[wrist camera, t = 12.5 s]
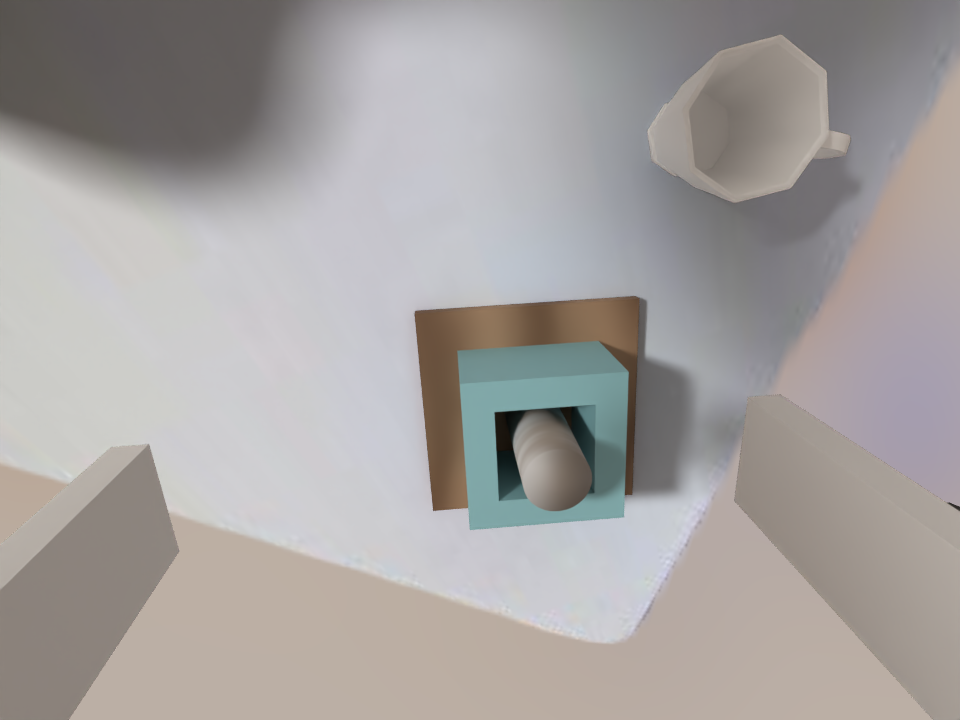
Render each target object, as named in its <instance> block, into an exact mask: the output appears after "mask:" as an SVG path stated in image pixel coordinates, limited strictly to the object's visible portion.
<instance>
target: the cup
mask: <svg viewBox="0 0 960 720" xmlns="http://www.w3.org/2000/svg"><path fill="white" fill-rule="evenodd" d="M647 134H648V141H649V148H650V155H651V161H652V162H654V163H655V164H657V165H658V166H660V167H661V168H662V169H664V170H665V171H667V172H668V173H670V174H671V175H672V176H679V177H680V178H682V179H683V180H685V181H686V182H688V183H689V184H691V185H692V186H693V187H695V188H698V189H700V190H703V191H706V192H708V193H711V194H714V195H716V196H718V197H720V198H723V199H725V200H728V201H730V202H733V203H737V202H741V201H745V200H748V199H752V198H756V197H760V196H764V195H768V194H771V193H775V192H779V191H783V190H787V189H791V188H792V186H793V185H794V183H795V182H796V181H797V179H798V178H799V177H800V175H801V174H802V172H803V171H804V170H805V168H806V167H807V165H808V164H809V163H810V161H811V160H812V159H827V158H836V157H841V156H845V155H846V153H847V150H848V147H849V144H850V141H851V138H850V135H847V134H844V133H840V132H835V131H831V130H829V117H828V92H827V71H826V70H825V69H824V68H822V67H821V66H820V65H819V64H817V63H816V62H815V61H814V60H812V59H811V58H810V57H809V56H807V55H806V54H805V53H804V52H802V51H801V50H800V49H799V48H797V47H796V46H795V45H794V44H793V43H791V42H790V41H789V40H788V39H786V38H785V37H784V36H783V35H777V36H773V37H770V38H766V39H762V40H758V41H755V42H751V43H747V44H743V45H740V46H736V47H732V48H728V49H724V50H721V51H719V52H718V53H717V54H716V55H715V56H713V57H712V58H711V59H710V60H709V61H708V62H707V63H706V64H705V65H704V66H703V67H702V68H700V69H699V70H698V71H697V72H696V73H695V74H694V75H693V76H691V77H690V78H689V79H688V80H687V81H686V82H684V83H683V84H682V86H681V87H680V88H679V90H678V91H677V93H676V94H675V95H674V97H673V98H672V100H671V101H670V102H669V103H665V104H664V105H663V107H662V108H661V110H660V111H659V113H658V115H657V116H656V118H655V119H654V121H653V122H652V124H651V126H650V127H649V129H648V130H647Z"/></svg>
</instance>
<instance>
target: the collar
mask: <svg viewBox="0 0 960 720" xmlns="http://www.w3.org/2000/svg"><path fill="white" fill-rule="evenodd" d="M457 353H458V367H459V381H460V396H461V410H462V424H463V439H464V453H465V467H466V481H467V496H468V510H469V524H470V530H476V529H488V528H500V527H512V526H524V525H536V524H548V523H561V522H573V521H585V520H597V519H609V518H621V517H624V499H625V469H626V438H627V407H628V377H629V372H628V371H627V370H626V369H625V367H624V366H623V365H622V364H621V363H620V362H619V361H618V360H617V359H616V358H615V357H614V356H613V355H612V354H611V353H610V352H609V351H608V350H607V349H606V348H605V347H604V346H603V345H602V344H601V343H600V342H599V341H590V342H576V343H561V344H547V345H532V346H518V347H503V348H489V349H474V350H460V351H457ZM570 406H571V431H572V433H573V435H574V437H575V439H576V441H577V443H578V445H579V447H580V449H581V451H582V453H583V455H584V457H585V459H586V461H587V463H588V465H589V466H590V469H591V473H592V484H591V487H590V490H589V492H588V494H587V495H586V497H585V498H584V499H583V500H582V501H581V502H580V503H579V504H577V505H576V506H574V507H572V508H570V509H567V510H563V511H547V510H543V509H541V508H538V507H537V506H535V505H534V504H533V503H531V502H530V500H529V499H528V498H527V496H526V494H525V492H524V488H523V484H522V480H521V477H520V473H519V469H518V465H517V461H516V457H515V453H514V450H507V451H496V434H495V414H494V412H502V411H516V410H529V409H543V408H556V407H570Z"/></svg>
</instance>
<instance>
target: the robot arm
mask: <svg viewBox="0 0 960 720" xmlns="http://www.w3.org/2000/svg"><path fill="white" fill-rule="evenodd" d="M734 501H735V502H736V503H737V504H738V505H739V507H740V508H741V509H742V510H743V511H744V512H745V513H746V514H747V515H748V517H749V518H750V519H751V520H752V521H753V522H754V523H755V524H756V525H757V526H758V527H759V529H760V530H761V531H762V532H763V533H764V534H765V535H766V536H767V537H768V539H769V540H770V541H771V542H772V543H773V544H774V545H775V546H776V547H777V548H778V549H779V551H780V552H781V553H782V554H783V555H784V556H785V557H786V558H787V559H788V560H789V561H790V563H791V564H792V565H793V566H794V567H795V568H796V569H797V570H798V572H799V573H800V574H801V575H802V576H803V577H804V578H805V579H806V580H807V581H808V582H809V584H810V585H811V586H812V587H813V588H814V589H815V590H816V591H817V592H818V594H819V595H820V596H821V597H822V598H823V599H824V600H825V601H826V602H827V603H828V604H829V606H830V607H831V608H832V609H833V610H834V611H835V612H836V613H837V615H838V616H839V617H840V618H841V619H842V620H843V621H844V622H845V623H846V624H847V625H848V627H849V628H850V629H851V630H852V631H853V632H854V633H855V634H856V635H857V636H858V638H859V639H860V640H861V641H862V642H863V643H864V644H865V645H866V646H867V648H868V649H869V650H870V651H871V652H872V653H873V654H874V655H875V656H876V657H877V659H878V660H879V661H880V662H881V663H882V664H883V665H884V666H885V667H886V668H887V670H888V671H889V672H890V673H891V674H892V675H893V676H894V677H895V678H896V680H897V681H898V682H899V683H900V684H901V685H902V686H903V687H904V688H905V689H906V690H907V692H908V693H909V694H910V695H911V696H912V697H913V698H914V699H915V700H916V701H917V703H918V704H919V705H920V706H921V707H922V708H923V709H924V710H925V711H926V713H927V714H928V715H929V716H930V717H931V718H932V719H933V720H960V507H959V506H956V505H954V504H952V503H946V502H945V501H943V500H941V499H940V498H938V497H937V496H935V495H934V494H932V493H931V492H929V491H928V490H926V489H925V488H923V487H922V486H920V485H918V484H917V483H915V482H914V481H912V480H911V479H909V478H908V477H906V476H905V475H903V474H902V473H900V472H898V471H897V470H895V469H894V468H892V467H891V466H889V465H888V464H886V463H885V462H883V461H882V460H880V459H879V458H877V457H875V456H874V455H872V454H871V453H869V452H868V451H866V450H865V449H863V448H861V447H860V446H859V445H857V444H856V443H854V442H852V441H851V440H849V439H847V438H846V437H845V436H843V435H842V434H840V433H838V432H837V431H836V430H834V429H832V428H831V427H829V426H828V425H826V424H825V423H823V422H822V421H820V420H819V419H817V418H815V417H814V416H813V415H811V414H809V413H807V412H806V411H805V410H803V409H802V408H800V407H799V406H797V405H796V404H794V403H793V402H791V401H790V400H788V399H786V398H785V397H783V396H782V395H768V396H755V397H748V400H747V407H746V415H745V423H744V430H743V438H742V445H741V453H740V461H739V469H738V476H737V484H736V491H735V499H734ZM178 552H179V549H178V545H177V541H176V538H175V535H174V531H173V528H172V524H171V520H170V517H169V513H168V510H167V506H166V503H165V499H164V496H163V492H162V488H161V485H160V481H159V478H158V474H157V471H156V467H155V464H154V460H153V457H152V453H151V450H150V446H149V444H145V445H132V446H119V447H111V448H110V449H109V450H107V451H106V452H105V453H104V454H103V455H102V456H101V457H99V458H98V459H97V460H96V461H95V462H94V463H93V464H91V465H90V466H89V467H88V468H87V469H86V470H85V471H83V472H82V473H81V474H80V475H79V476H78V477H77V478H75V479H74V480H73V481H72V482H71V483H70V484H69V485H67V486H66V487H65V488H64V489H63V490H62V491H61V492H59V493H58V494H57V495H56V496H55V497H54V498H53V499H51V500H50V501H49V502H48V503H47V504H46V505H45V506H44V507H42V508H41V509H40V510H39V511H38V512H37V513H35V514H34V515H33V516H32V517H31V518H30V519H29V520H27V522H25V523H24V524H23V525H22V526H21V527H19V528H18V529H17V530H16V531H15V532H14V533H13V534H11V535H10V536H9V537H8V538H7V539H6V540H5V541H3V542H2V543H1V544H0V720H69V719H70V717H71V715H72V714H73V712H74V711H75V710H76V708H77V706H78V705H79V703H80V702H81V700H82V699H83V697H84V696H85V694H86V693H87V691H88V690H89V688H90V687H91V685H92V684H93V682H94V681H95V679H96V678H97V676H98V675H99V673H100V671H101V670H102V668H103V667H104V665H105V664H106V662H107V661H108V659H109V658H110V656H111V655H112V653H113V652H114V650H115V649H116V647H117V645H118V644H119V642H120V641H121V639H122V638H123V636H124V635H125V633H126V632H127V630H128V629H129V627H130V626H131V624H132V623H133V621H134V620H135V618H136V617H137V615H138V614H139V612H140V610H141V609H142V607H143V606H144V604H145V603H146V601H147V600H148V598H149V597H150V595H151V594H152V592H153V591H154V589H155V588H156V586H157V584H158V583H159V582H160V580H161V578H162V577H163V575H164V574H165V572H166V571H167V569H168V568H169V566H170V565H171V563H172V561H173V560H174V559H175V557H176V556H177V554H178Z"/></svg>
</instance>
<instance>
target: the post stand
mask: <svg viewBox="0 0 960 720" xmlns="http://www.w3.org/2000/svg"><path fill="white" fill-rule="evenodd" d="M415 323H416V334H417V344H418V355H419V365H420V376H421V386H422V397H423V408H424V418H425V429H426V439H427V450H428V461H429V471H430V482H431V492H432V503H433V511H437V510H449V509H461V508H468V496H467V481H466V467H465V453H464V439H463V424H462V410H461V396H460V381H459V367H458V353H457V351H460V350H474V349H489V348H503V347H518V346H532V345H547V344H561V343H576V342H590V341H599V342H600V343H601V344H602V345H603V346H604V347H605V348H606V349H607V350H608V351H609V352H610V353H611V354H612V355H613V356H614V357H615V358H616V359H617V360H618V361H619V362H620V363H621V364H622V365H623V366H624V367H625V369H626V370H627V371H628V372H629V377H628V407H627V438H626V469H625V495H632V487H633V460H634V433H635V405H636V378H637V351H638V323H639V298H637V297H636V296H630V297H615V298H600V299H585V300H570V301H555V302H540V303H526V304H511V305H496V306H481V307H466V308H451V309H436V310H421V311H415ZM494 414H495V434H496V451H507V450H514V453H515V457H516V461H517V465H518V469H519V473H520V477H521V480H522V484H523V488H524V492H525V494H526V496H527V498H528V499H529V500H530V502H531V503H533V504H534V505H535V506H537V507H538V508H541V509H543V510H547V511H563V510H567V509H570V508H572V507H574V506H576V505H577V504H579V503H580V502H581V501H582V500H583V499H584V498H585V497H586V495H587V494H588V492H589V490H590V487H591V484H592V473H591V469H590V466H589V465H588V463H587V461H586V459H585V457H584V455H583V453H582V451H581V449H580V447H579V445H578V443H577V441H576V439H575V437H574V435H573V433H572V431H571V406H570V407H556V408H543V409H529V410H516V411H502V412H494Z"/></svg>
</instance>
